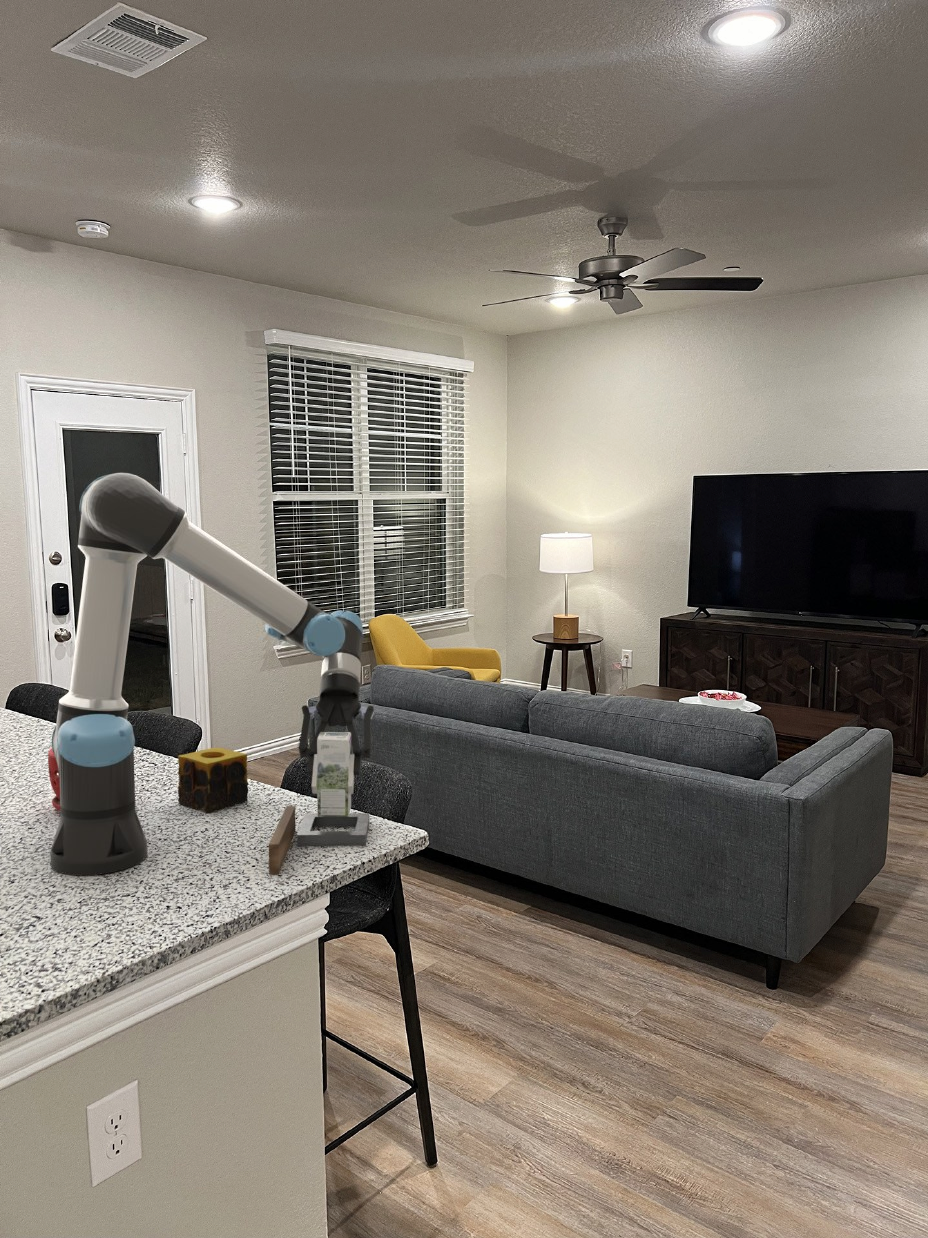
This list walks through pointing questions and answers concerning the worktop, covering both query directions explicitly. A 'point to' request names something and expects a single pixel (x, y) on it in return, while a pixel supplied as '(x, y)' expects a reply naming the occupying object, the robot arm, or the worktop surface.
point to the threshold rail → (281, 840)
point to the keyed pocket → (334, 838)
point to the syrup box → (333, 774)
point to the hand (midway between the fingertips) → (332, 790)
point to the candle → (212, 779)
